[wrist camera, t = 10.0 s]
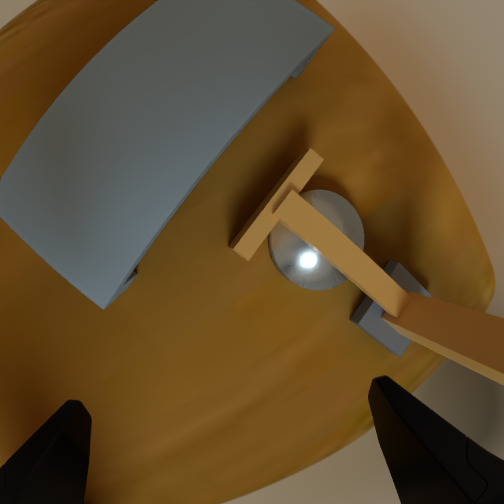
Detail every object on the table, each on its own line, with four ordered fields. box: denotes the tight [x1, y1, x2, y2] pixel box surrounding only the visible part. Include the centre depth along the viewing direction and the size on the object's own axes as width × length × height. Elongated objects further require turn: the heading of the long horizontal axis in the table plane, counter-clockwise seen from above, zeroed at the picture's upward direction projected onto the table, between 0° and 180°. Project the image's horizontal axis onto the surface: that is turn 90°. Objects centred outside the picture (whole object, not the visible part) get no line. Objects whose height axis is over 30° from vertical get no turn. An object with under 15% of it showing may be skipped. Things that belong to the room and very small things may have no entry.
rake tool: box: [228, 148, 504, 385], centre depth 14 cm, size 14×7×13 cm, turn 52°
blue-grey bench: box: [0, 0, 335, 310], centre depth 15 cm, size 8×18×6 cm, turn 143°
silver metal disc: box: [268, 190, 364, 290], centre depth 19 cm, size 6×6×1 cm
